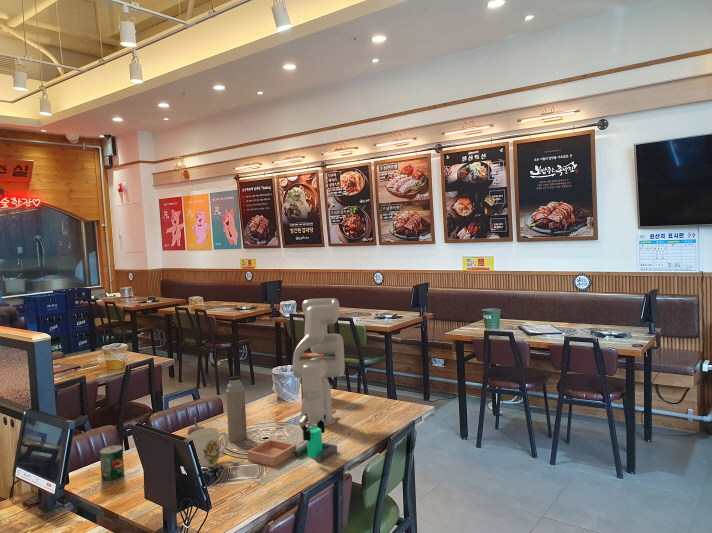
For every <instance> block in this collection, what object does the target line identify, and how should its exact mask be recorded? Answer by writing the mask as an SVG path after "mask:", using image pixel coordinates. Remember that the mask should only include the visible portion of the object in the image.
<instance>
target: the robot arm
mask: <svg viewBox="0 0 712 533" xmlns="http://www.w3.org/2000/svg"><path fill="white" fill-rule="evenodd" d="M339 302H340V301H339V300H338V299H337V298H335V297H334V298H333V297H327V298H309V299H305V300H303V302H302V303H301V304H302V305H301V308H302V312H303V314H304V336H303V338H302V339H301V340H300V341H299V342H298V343H297V345H296V347H295V349H294V352H293V355H292V356H293V357H292V373H293V376H294V377H295V378H297V379H301V378H302V380H303V400H302V399H301V408H300V411H301V412H300V413H301V414H300V415H301V416H300V420H299V422H298V425H299V427H300V429H301V431H302V438H303V440H304V441H306V442H307V441H310V440H311V439H310V431H309V429H310V428H311V427H318V428H320V429H321V431H322V434H324V433H325V428H326V427H328V426H332V425H333V424H335V422H336V418H335V417H334V416H333V415H335V414H336V413H337V410H336V409H332V389H331V385H330V384H331V383H330V382H329V380H328V381H327V380H326V378H325V377H327V378H337V377H342V376H343V375H344V374H345V370H346V369H345V368H346V365H345V348H344V345H345V344H344V339H343V336H342V335H341V334H340V333H328V324H330V325H331V324H336V323H337V322H338V319H339V314H340V303H339ZM308 349H310V351H311V353H314V354H327V355H334V356H327V357H315V358H312V359H310V360H300V356H301V355H303V354H304V353H305V351H306V350H308Z"/></svg>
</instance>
